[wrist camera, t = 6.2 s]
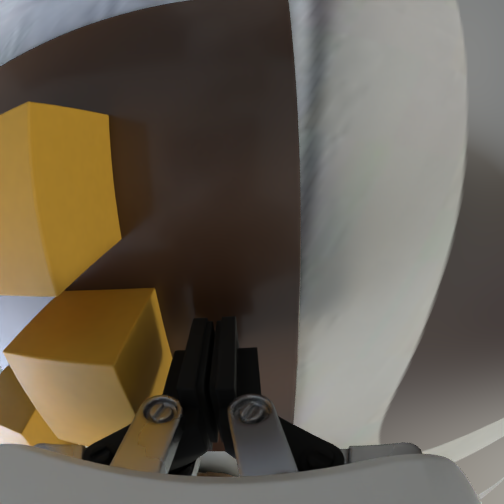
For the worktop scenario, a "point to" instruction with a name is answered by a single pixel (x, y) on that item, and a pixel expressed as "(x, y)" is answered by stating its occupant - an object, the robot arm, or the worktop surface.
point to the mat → (189, 168)
